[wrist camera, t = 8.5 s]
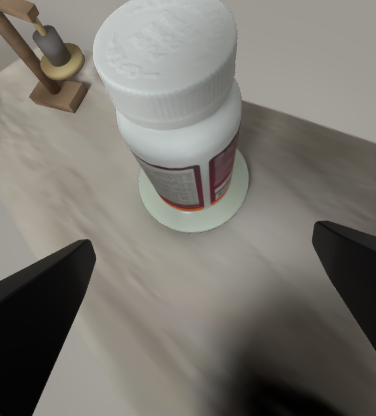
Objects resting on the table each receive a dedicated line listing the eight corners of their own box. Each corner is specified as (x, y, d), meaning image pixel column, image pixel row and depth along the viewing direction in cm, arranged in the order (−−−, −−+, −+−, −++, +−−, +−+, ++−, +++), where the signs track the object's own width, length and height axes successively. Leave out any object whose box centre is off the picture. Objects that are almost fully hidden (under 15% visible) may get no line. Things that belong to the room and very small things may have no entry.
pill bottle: (214, 136, 19) (214, -43, 9) (243, 199, 17) (289, 63, 7) (147, 160, 19) (65, 10, 9) (167, 226, 17) (94, 133, 7)
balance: (113, 94, 24) (42, -42, 14) (98, 121, 23) (11, -3, 13) (29, 76, 26) (-84, -51, 16) (12, 100, 25) (-119, -19, 15)
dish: (229, 249, 17) (230, 247, 16) (126, 215, 19) (121, 211, 18) (258, 151, 20) (261, 143, 19) (164, 129, 22) (161, 121, 21)
